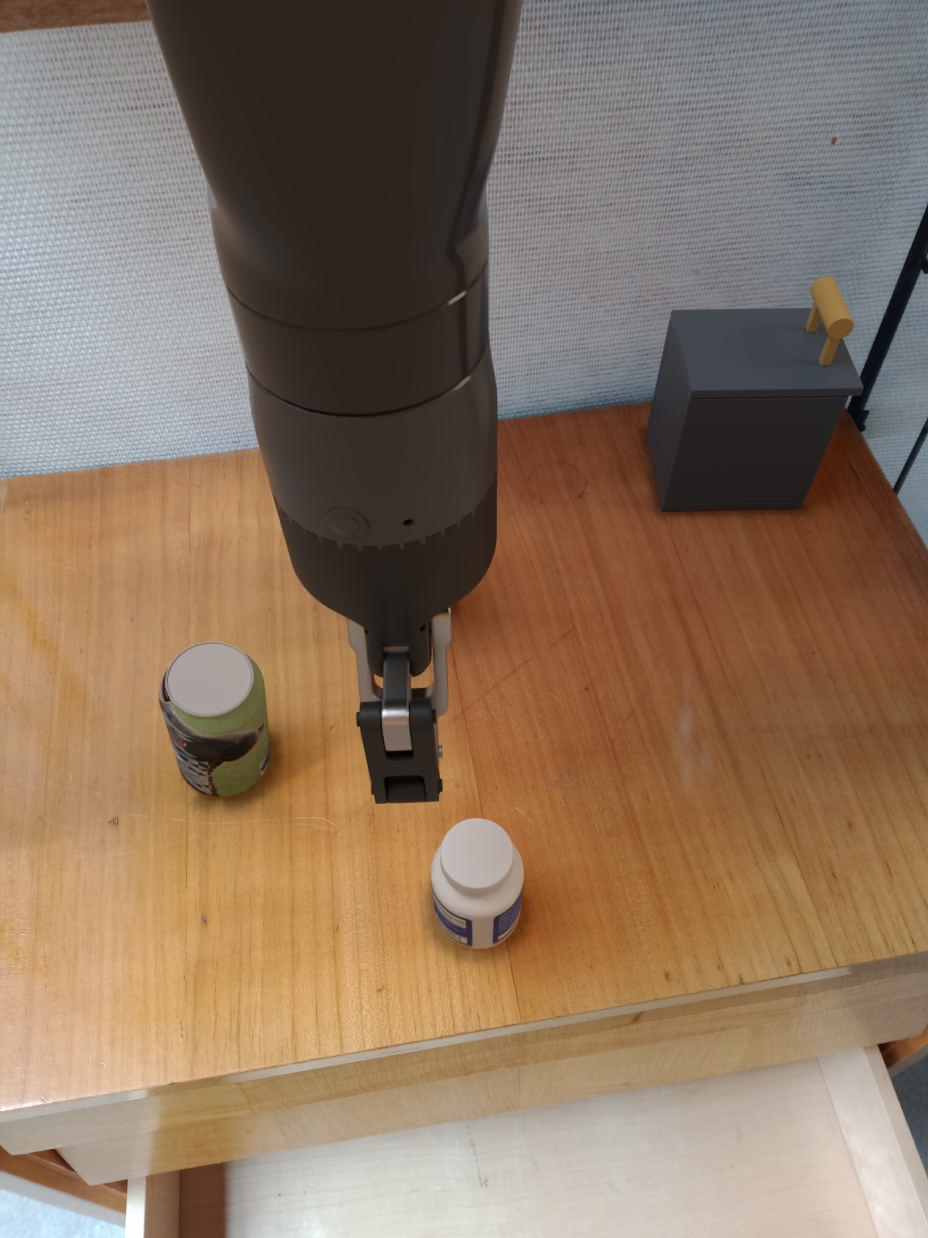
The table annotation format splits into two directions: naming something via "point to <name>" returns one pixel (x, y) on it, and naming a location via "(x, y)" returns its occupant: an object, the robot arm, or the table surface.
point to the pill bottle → (477, 884)
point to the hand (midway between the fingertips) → (415, 707)
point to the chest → (734, 444)
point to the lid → (769, 349)
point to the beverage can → (216, 718)
